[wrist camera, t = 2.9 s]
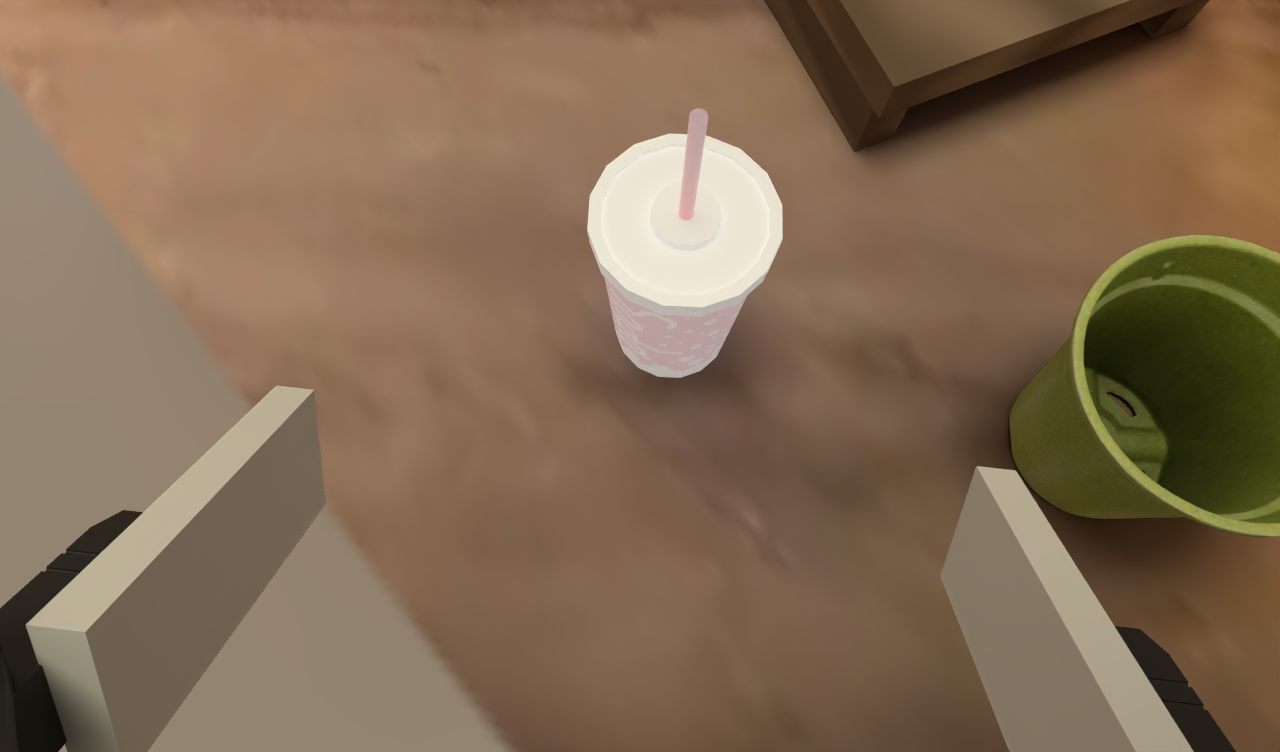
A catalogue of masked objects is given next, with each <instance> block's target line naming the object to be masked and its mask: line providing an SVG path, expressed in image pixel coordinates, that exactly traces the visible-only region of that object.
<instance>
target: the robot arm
mask: <svg viewBox="0 0 1280 752" xmlns="http://www.w3.org/2000/svg"><path fill="white" fill-rule="evenodd" d="M325 504H326V501H325V492H324V482H323V472H322V462H321V452H320V442H319V432H318V423H317V413H316V403H315V393H314V390H310V389H301V388H292V387H284V386H275V387H274V388H273V389H272V390H271V391H270V392H269V393H268V394H267V395H266V396H265V397H264V398H263V399H262V400H261V401H260V402H259V403H258V404H257V405H256V406H254V407H253V408H252V409H251V410H250V411H249V412H248V413H247V414H246V415H245V416H244V417H243V418H242V419H241V420H240V421H239V422H238V423H237V424H236V425H235V426H233V428H231V429H230V430H229V431H228V432H227V433H226V434H225V435H224V436H223V437H222V438H221V439H220V440H219V441H218V442H217V443H216V444H215V445H214V446H213V447H211V448H210V449H209V450H208V451H207V452H206V453H205V454H204V455H203V456H202V457H201V458H200V459H199V460H198V461H197V462H196V463H195V464H194V465H193V466H192V467H190V468H189V470H187V471H186V472H185V473H184V474H183V475H182V476H181V477H180V478H179V479H178V480H177V481H176V482H175V483H174V484H173V485H172V486H171V487H170V488H168V489H167V490H166V491H165V492H164V493H163V494H162V495H161V496H160V497H159V498H158V499H157V500H156V501H155V502H154V503H153V504H152V505H151V506H150V507H149V508H147V509H146V511H144V512H143V513H142V512H135V511H126V510H123V511H121V512H119V513H117V514H115V515H113V516H111V517H110V518H108V519H106V520H104V521H102V522H100V523H98V524H96V525H95V526H92V527H91V528H89V529H88V530H87V531H86V532H85V533H84V534H83V535H82V536H80V537H79V538H78V539H77V540H76V541H75V542H74V543H73V544H72V545H71V546H69V547H68V548H67V549H66V553H65V554H60V555H59V556H58V557H57V558H56V559H55V560H54V561H53V562H51V563H50V564H49V565H48V566H47V569H46V571H45V572H43V571H41V572H40V573H39V574H38V575H37V576H36V577H35V578H34V579H33V580H31V581H30V582H29V583H28V584H27V585H26V586H25V587H24V588H22V589H21V590H20V591H19V592H18V593H17V594H16V595H15V596H13V597H12V598H11V599H10V600H9V601H8V602H7V603H6V604H5V605H3V606H2V607H1V608H0V752H58V751H59V750H60V749H61V748H62V747H63V745H64V744H65V746H66V749H67V752H147V751H148V750H149V749H150V747H151V745H152V744H153V743H154V742H155V740H156V739H157V737H158V736H159V735H160V733H161V732H162V731H163V729H164V728H165V726H166V725H167V724H168V722H169V721H170V719H171V718H172V717H173V715H174V714H175V712H176V711H177V710H178V708H179V707H180V706H181V704H182V703H183V701H184V700H185V699H186V697H187V696H188V694H189V693H190V692H191V690H192V689H193V687H194V686H195V685H196V683H197V682H198V681H199V679H200V678H201V676H202V675H203V673H204V672H205V671H206V669H207V668H208V667H209V665H210V664H211V662H212V661H213V660H214V658H215V657H216V656H217V654H218V653H219V651H220V650H221V648H222V647H223V646H224V644H225V643H226V642H227V640H228V639H229V637H230V636H231V635H232V633H233V632H234V631H235V629H236V628H237V626H238V625H239V623H240V622H241V621H242V619H243V618H244V617H245V615H246V614H247V612H248V611H249V610H250V608H251V607H252V605H253V604H254V603H255V601H256V600H257V599H258V597H259V595H260V594H261V593H262V592H263V590H264V589H265V587H266V586H267V585H268V583H269V582H270V580H271V579H272V578H273V576H274V575H275V573H276V572H277V571H278V569H279V568H280V567H281V565H282V564H283V562H284V561H285V559H286V558H287V557H288V555H289V554H290V553H291V551H292V550H293V548H294V547H295V546H296V544H297V543H298V542H299V540H300V539H301V537H302V536H303V535H304V533H305V532H306V530H307V529H308V528H309V526H310V525H311V523H312V522H313V521H314V519H315V518H316V516H317V515H318V514H319V512H320V511H321V510H322V508H323V507H324V505H325ZM940 577H941V580H942V582H943V585H944V587H945V590H946V592H947V595H948V597H949V600H950V602H951V605H952V607H953V610H954V612H955V615H956V618H957V620H958V623H959V625H960V628H961V630H962V633H963V635H964V638H965V640H966V643H967V645H968V648H969V651H970V653H971V656H972V658H973V661H974V663H975V666H976V668H977V671H978V673H979V676H980V678H981V681H982V683H983V686H984V689H985V691H986V694H987V696H988V699H989V701H990V704H991V706H992V709H993V711H994V714H995V716H996V719H997V721H998V724H999V727H1000V729H1001V732H1002V734H1003V737H1004V739H1005V742H1006V744H1007V747H1008V749H1009V752H1236V751H1235V750H1234V748H1233V747H1232V745H1231V744H1230V742H1229V741H1228V740H1227V738H1226V737H1225V735H1224V734H1223V732H1222V731H1221V729H1220V728H1219V726H1218V725H1217V724H1216V722H1215V721H1214V719H1213V718H1212V716H1211V715H1210V713H1209V712H1208V710H1204V709H1203V703H1202V702H1201V700H1200V699H1199V697H1198V696H1197V694H1196V693H1195V692H1194V690H1193V689H1192V687H1188V681H1187V680H1186V678H1185V677H1184V675H1183V674H1182V673H1181V671H1180V670H1179V668H1178V667H1177V665H1176V664H1175V662H1174V661H1173V659H1172V658H1171V657H1170V655H1169V654H1168V653H1167V652H1166V651H1164V650H1163V649H1162V648H1161V647H1160V646H1159V645H1158V644H1156V643H1155V642H1154V641H1153V640H1152V639H1151V638H1149V637H1148V636H1147V635H1146V634H1145V633H1144V632H1143V631H1141V630H1140V629H1135V628H1126V627H1118V626H1114V625H1113V623H1112V622H1111V620H1110V618H1109V617H1108V615H1107V614H1106V612H1105V611H1104V609H1103V607H1102V606H1101V604H1100V603H1099V601H1098V600H1097V598H1096V596H1095V595H1094V593H1093V592H1092V590H1091V588H1090V587H1089V585H1088V584H1087V582H1086V581H1085V579H1084V577H1083V576H1082V574H1081V573H1080V571H1079V570H1078V568H1077V566H1076V565H1075V563H1074V562H1073V560H1072V558H1071V557H1070V555H1069V554H1068V552H1067V551H1066V549H1065V547H1064V546H1063V544H1062V543H1061V541H1060V539H1059V538H1058V536H1057V535H1056V533H1055V532H1054V530H1053V528H1052V527H1051V525H1050V524H1049V522H1048V521H1047V519H1046V517H1045V516H1044V514H1043V513H1042V511H1041V509H1040V508H1039V506H1038V505H1037V503H1036V502H1035V500H1034V498H1033V497H1032V495H1031V494H1030V492H1029V490H1028V489H1027V487H1026V486H1025V484H1024V483H1023V481H1022V479H1021V478H1020V476H1019V475H1018V473H1017V472H1016V471H1015V470H1006V469H997V468H989V467H980V466H976V469H975V472H974V475H973V478H972V481H971V484H970V487H969V490H968V493H967V496H966V499H965V503H964V506H963V509H962V512H961V515H960V518H959V521H958V524H957V527H956V530H955V533H954V536H953V539H952V542H951V545H950V548H949V551H948V554H947V557H946V560H945V563H944V566H943V569H942V572H941V575H940Z"/></svg>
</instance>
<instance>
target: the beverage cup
mask: <svg viewBox="0 0 1280 752" xmlns="http://www.w3.org/2000/svg"><path fill="white" fill-rule="evenodd" d="M707 122H708V114H707V112H706V111H705V110H703V109H698V108H697V109H694V110H693V111H691V113H690V116H689V125H688V134H687V135H686V134H667V135H664V136H660V137H657V138H654V139H650V140H647V141H644V142H641V143H637V144H634V145H633V146H632V147H630V148H629V149H628V150H627V151H625V152H624V153H623V154H621V155H620V156H619V157H618V158H616V159H615V160H614V161H612V162H611V163H610V164H608V165H607V166H606V168H605V170H604V172H603V173H602V175H601V177H600V179H599V181H598V182H597V184H596V186H595V188H594V189H593V191H592V193H591V195H590V202H589V216H588V229H587V230H588V236H589V238H590V244H591V247H592V250H593V252H594V255H595V257H596V260H597V263H598V265H599V268H600V271H601V273H602V275H603V276H604V277H605V281H606V286H607V291H608V296H609V301H610V306H611V310H612V315H613V320H614V325H615V330H616V334H617V337H618V339H619V342H620V345H621V347H622V350H623V352H624V354H625V355H626V356H627V357H628V358H629V359H630V360H631V361H632V362H633V363H634V364H635V365H636V366H637V367H638V368H640V369H642V370H644V371H647V372H649V373H651V374H653V375H656V376H658V377H675V378H681V377H684V376H687V375H690V374H693V373H696V372H699V371H701V370H702V369H703V368H704V367H706V366H707V365H708V364H709V363H710V362H711V361H712V360H714V359H715V358H716V357H717V355H718V353H719V351H720V349H721V347H722V345H723V343H724V341H725V339H726V337H727V335H728V333H729V331H730V329H731V327H732V325H733V323H734V321H735V319H736V317H737V315H738V313H739V311H740V309H741V307H742V305H743V303H744V301H745V299H746V297H747V295H748V294H749V293H750V292H751V291H752V290H754V289H755V288H756V287H757V286H758V285H759V284H761V283H762V282H763V280H764V278H765V276H766V275H767V272H768V270H769V268H770V266H771V264H772V261H773V259H774V257H775V255H776V253H777V251H778V248H779V246H780V244H781V242H782V239H783V237H782V204H781V201H780V199H779V197H778V195H777V193H776V191H775V189H774V187H773V184H772V182H771V180H770V178H769V176H768V174H767V173H766V172H765V171H764V170H763V169H762V168H761V167H760V166H759V165H758V164H756V163H755V162H754V161H753V160H752V159H751V158H750V157H749V156H748V155H747V154H745V153H744V152H743V151H742V150H741V149H739V148H736V147H734V146H731V145H729V144H726V143H724V142H722V141H719V140H717V139H714V138H712V137H709V136H707V135H706V129H707Z"/></svg>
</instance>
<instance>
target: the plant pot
mask: <svg viewBox="0 0 1280 752" xmlns="http://www.w3.org/2000/svg"><path fill="white" fill-rule="evenodd" d="M1107 392H1108V393H1114V394H1116V395H1118V396H1119V397H1121V398H1123V399H1124V400H1125V401H1126V402H1128V404H1129V405H1130V406H1131V407H1132V408H1133V410H1134V412H1135V414H1136V415H1135V416H1134V417H1130V416H1129V415H1128V414H1127V413H1126V412H1125V411H1124V410H1123V409H1122V408H1121V406H1120V405H1119V404H1117V402H1116V401H1114V400H1113V399H1112V397H1111V396H1108V395H1107ZM1009 424H1010V435H1011V446H1012V456H1013V459H1014V461H1015V464H1016V466H1017V468H1018V470H1019V471H1020V473H1021V475H1022V476H1023V478H1024V479H1025V481H1026V482H1027V483H1028V484H1029V485H1030V487H1031V488H1032V489H1033V490H1034V491H1035V492H1036V493H1037V494H1038V495H1039V496H1041V497H1042V498H1043V499H1045V500H1046V501H1047V502H1049V503H1050V504H1052V505H1054V506H1055V507H1057V508H1059V509H1061V510H1063V511H1065V512H1067V513H1070V514H1073V515H1078V516H1082V517H1088V518H1095V519H1127V518H1189V519H1191V520H1193V521H1195V522H1198V523H1200V524H1203V525H1206V526H1208V527H1211V528H1214V529H1218V530H1221V531H1225V532H1230V533H1234V534H1239V535H1246V536H1255V537H1280V254H1279V253H1277V252H1275V251H1271V250H1268V249H1266V248H1264V247H1260V246H1257V245H1255V244H1252V243H1249V242H1246V241H1242V240H1237V239H1232V238H1226V237H1220V236H1209V235H1204V236H1203V235H1190V236H1181V237H1174V238H1169V239H1164V240H1160V241H1156V242H1153V243H1150V244H1147V245H1144V246H1142V247H1140V248H1137V249H1135V250H1133V251H1132V252H1130V253H1128V254H1126V255H1125V256H1123V257H1122V258H1120V259H1119V260H1118V261H1116V262H1115V263H1114V264H1112V265H1111V266H1110V267H1109V268H1108V269H1107V270H1106V271H1105V272H1104V273H1103V274H1102V275H1101V276H1100V277H1099V278H1098V279H1097V280H1096V282H1095V283H1094V284H1093V285H1092V287H1091V288H1090V289H1089V291H1088V292H1087V294H1086V295H1085V297H1084V299H1083V301H1082V303H1081V305H1080V307H1079V310H1078V312H1077V314H1076V317H1075V320H1074V324H1073V328H1072V333H1071V336H1070V338H1069V339H1068V340H1067V341H1066V343H1065V344H1064V345H1063V346H1062V347H1061V348H1060V349H1059V350H1058V352H1057V353H1056V354H1055V355H1054V356H1053V357H1052V358H1051V359H1050V361H1049V362H1048V363H1047V364H1046V365H1045V366H1044V367H1043V368H1042V369H1041V370H1040V371H1039V372H1038V373H1037V375H1036V376H1035V377H1034V378H1033V379H1032V380H1031V381H1030V382H1029V384H1028V385H1027V386H1026V387H1025V388H1024V389H1023V390H1022V392H1021V393H1020V394H1019V396H1018V397H1017V399H1016V401H1015V403H1014V405H1013V407H1012V410H1011V413H1010V417H1009ZM1141 470H1142V471H1144V473H1143V472H1142V471H1141Z"/></svg>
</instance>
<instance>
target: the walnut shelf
mask: <svg viewBox="0 0 1280 752" xmlns="http://www.w3.org/2000/svg"><path fill="white" fill-rule="evenodd" d="M765 1H766V3H767V4H768V6H769V8H770V9H771V11H772V13H773V14H774V16H775V18H776V20H777V21H778V23H779V25H780V26H781V28H782V30H783V31H784V33H785V35H786V36H787V38H788V40H789V42H790V43H791V45H792V47H793V48H794V50H795V52H796V53H797V55H798V57H799V58H800V60H801V62H802V64H803V65H804V67H805V69H806V70H807V72H808V74H809V75H810V77H811V79H812V80H813V82H814V84H815V86H816V87H817V89H818V91H819V92H820V94H821V96H822V97H823V99H824V101H825V102H826V104H827V106H828V108H829V109H830V111H831V113H832V114H833V116H834V118H835V119H836V121H837V123H838V124H839V126H840V128H841V130H842V131H843V133H844V135H845V136H846V138H847V140H848V141H849V143H850V145H851V146H852V148H853V150H854V151H856V150H859V149H862V148H864V147H867V146H870V145H872V144H875V143H878V142H880V141H883V140H885V139H888V138H891V137H893V136H894V134H895V132H896V131H897V129H898V127H899V125H900V123H901V121H902V119H903V117H904V115H905V113H906V111H907V109H908V108H909V107H912V106H915V105H917V104H920V103H923V102H925V101H928V100H931V99H933V98H936V97H939V96H941V95H944V94H947V93H950V92H952V91H955V90H958V89H960V88H963V87H966V86H968V85H971V84H974V83H976V82H979V81H982V80H984V79H987V78H990V77H992V76H995V75H998V74H1001V73H1003V72H1006V71H1009V70H1011V69H1014V68H1017V67H1019V66H1022V65H1025V64H1027V63H1030V62H1033V61H1035V60H1038V59H1041V58H1043V57H1046V56H1049V55H1052V54H1054V53H1057V52H1060V51H1062V50H1065V49H1068V48H1070V47H1073V46H1076V45H1078V44H1081V43H1084V42H1086V41H1089V40H1092V39H1094V38H1097V37H1100V36H1103V35H1105V34H1108V33H1111V32H1113V31H1116V30H1119V29H1121V28H1124V27H1127V26H1129V25H1132V24H1135V23H1137V22H1139V23H1140V25H1141V26H1142V27H1143V29H1144V30H1145V31H1146V33H1147V34H1148V35H1149V36H1150V38H1151V39H1153V38H1156V37H1159V36H1161V35H1164V34H1167V33H1169V32H1172V31H1175V30H1177V29H1180V28H1183V27H1185V26H1187V25H1188V24H1189V23H1190V22H1191V20H1192V19H1193V18H1194V17H1195V16H1196V15H1197V14H1198V13H1199V12H1200V10H1201V9H1202V8H1203V7H1204V6H1205V5H1206V4H1207V3H1208V1H1209V0H765Z"/></svg>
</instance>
